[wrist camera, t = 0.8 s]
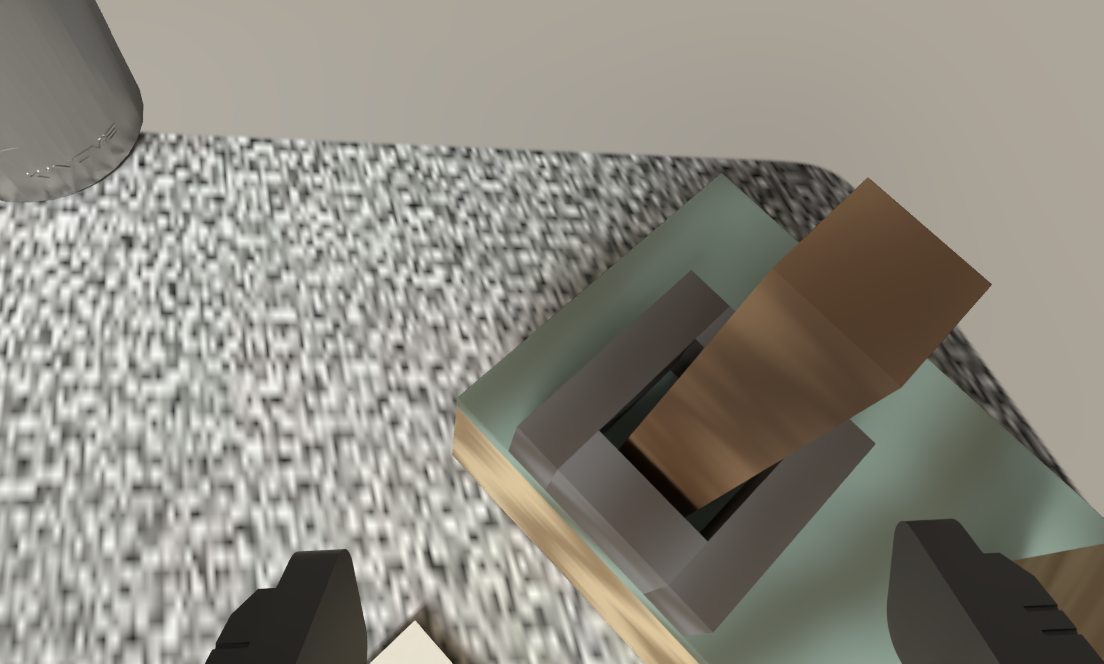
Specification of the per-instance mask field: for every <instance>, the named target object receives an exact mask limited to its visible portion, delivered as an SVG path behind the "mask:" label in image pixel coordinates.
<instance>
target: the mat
mask: <svg viewBox="0 0 1104 664" xmlns="http://www.w3.org/2000/svg"><path fill="white" fill-rule="evenodd" d="M370 664H452V662H451V661H450V660H449V659H448V658H447V657H446V655H445V654H444V653H443V652H442V651H441V650H440V649H439V647H438V646H437V645H436V644H435V643H434V642H433V640H432V639H431V638H430V637H429V636H428V635H427V634H426V632H425V631H424V630H423V629H422V628H421V627H420V625H419V624H418V623H417V622H416V621H414V622H413V623H412V624H411V625H410V626H409V627H407V628H406V629H405V630H404V631H403V632H402V633H401V634H400V635H399V636H398V637H397V638H396V639H395V640H394V641H393V642H392V643H391V644H390V645H389V646H388V647H387V648H386V649H384V650H383V651H382V652H381V653H380V654H379V655H378V656H377V657H376V658H375V659H374V660H373V661H372V662H371V663H370Z"/></svg>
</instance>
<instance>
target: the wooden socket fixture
mask: <svg viewBox="0 0 1104 664" xmlns="http://www.w3.org/2000/svg"><path fill="white" fill-rule="evenodd" d="M798 243H799V242H798V241H796V240H795V239H794V238H793V237H792V236H791V235H790V234H789V233H788V232H786V231H785V230H784V229H783V228H782V227H781V226H780V225H779V224H778V223H776V222H775V221H774V220H773V219H772V218H771V217H770V216H769V215H768V214H767V213H765V212H764V211H763V210H762V209H761V208H760V207H759V206H758V205H757V204H755V203H754V202H753V201H752V200H751V199H750V198H749V197H748V196H747V195H745V194H744V193H743V192H742V191H741V190H740V189H739V188H738V187H737V186H735V185H734V184H733V183H732V182H731V181H730V180H729V179H728V178H727V177H726V176H724V175H723V174H722V173H721V174H720V175H718V176H717V177H716V178H715V179H714V180H713V181H711V182H710V183H709V184H708V185H707V186H706V187H704V188H703V189H702V190H701V191H700V192H698V193H697V194H696V195H695V196H694V197H693V198H691V199H690V200H689V201H688V202H687V203H686V204H684V205H683V206H682V207H681V208H680V209H678V210H677V211H676V212H675V213H674V214H673V215H671V216H670V217H669V218H668V219H667V220H666V221H664V222H663V223H662V224H661V225H660V226H659V227H657V228H656V229H655V230H654V231H653V232H651V233H650V234H649V235H648V236H647V237H646V238H644V239H643V240H642V241H641V242H640V243H639V244H637V245H636V246H635V247H634V248H633V249H631V250H630V251H629V252H628V253H627V254H626V255H624V256H623V257H622V258H621V259H620V260H619V261H617V262H616V263H615V264H614V265H613V266H612V267H610V268H609V269H608V270H607V271H606V272H604V273H603V274H602V275H601V276H600V277H599V278H597V279H596V280H595V281H594V282H593V283H592V284H590V285H589V286H588V287H587V288H586V289H584V290H583V291H582V292H581V293H580V294H579V295H577V296H576V297H575V298H574V299H573V300H572V301H570V302H569V303H568V304H567V305H566V306H564V307H563V308H562V309H561V310H560V311H559V312H557V313H556V314H555V315H554V316H553V317H552V318H550V319H549V320H548V321H547V322H546V323H545V324H543V325H542V326H541V327H540V328H539V329H537V330H536V331H535V332H534V333H533V334H532V335H530V336H529V337H528V338H527V339H526V340H525V341H523V342H522V343H521V344H520V345H519V346H517V347H516V348H515V349H514V350H513V351H512V352H510V353H509V354H508V355H507V356H506V357H505V358H503V359H502V360H501V361H500V362H499V363H498V364H496V365H495V366H494V367H493V368H492V369H490V370H489V371H488V372H487V373H486V374H485V375H483V376H482V377H481V378H480V379H479V380H478V381H476V382H475V383H474V384H473V385H472V386H470V387H469V388H468V389H467V390H466V391H465V392H463V393H462V394H461V395H460V396H459V397H458V399H457V409H456V420H455V431H454V442H453V453H452V455H453V456H454V457H455V458H456V459H457V460H458V461H459V462H460V464H461V465H462V466H463V467H464V468H465V469H466V470H467V471H468V472H469V473H470V474H471V475H472V477H473V478H474V479H475V480H476V481H477V482H478V483H479V484H480V485H481V486H482V487H483V488H484V490H485V491H486V492H487V493H488V494H489V495H490V496H491V497H492V498H493V499H494V500H495V501H496V503H497V504H498V505H499V506H500V507H501V508H502V509H503V510H504V511H505V512H506V513H507V514H508V515H509V517H510V518H511V519H512V520H513V521H514V522H515V523H516V524H517V525H518V526H519V527H520V528H521V530H522V531H523V532H524V533H525V534H526V535H527V536H528V537H529V538H530V539H531V540H532V541H533V543H534V544H535V545H536V546H537V547H538V548H539V549H540V550H541V551H542V552H543V553H544V554H545V555H546V557H547V558H548V559H549V560H550V561H551V562H552V563H553V564H554V565H555V566H556V567H557V568H558V570H559V571H560V572H561V573H562V574H563V575H564V576H565V577H566V578H567V579H568V580H569V581H570V583H571V584H572V585H573V586H574V587H575V588H576V589H577V590H578V591H579V592H580V593H581V594H582V596H583V597H584V598H585V599H586V600H587V601H588V602H589V603H590V604H591V605H592V606H593V607H594V608H595V610H596V611H597V612H598V613H599V614H600V615H601V616H602V617H603V618H604V619H605V620H606V621H607V623H608V624H609V625H610V626H611V627H612V628H613V629H614V630H615V631H616V632H617V633H618V634H619V636H620V637H621V638H622V639H623V640H624V641H625V642H626V643H627V644H628V645H629V646H630V647H631V649H632V650H633V651H634V652H635V653H636V654H637V655H638V656H639V657H640V658H641V659H642V660H643V661H644V663H645V664H902V663H901V661H900V659H899V657H898V655H897V653H896V651H895V649H894V646H893V644H892V641H891V637H890V633H889V628H888V622H887V597H888V587H889V578H890V568H891V559H892V549H893V540H894V532H895V528H896V526H897V524H898V523H899V522H901V521H914V520H933V519H956V520H957V521H959V522H960V523H961V525H962V526H963V527H964V528H965V530H966V531H967V532H968V534H969V535H970V536H971V538H972V539H973V540H974V542H975V543H976V544H977V546H978V547H979V548H980V550H981V551H982V552H983V553H1001V554H1003V555H1004V556H1006V557H1007V558H1008V559H1010V560H1011V561H1013V562H1014V563H1016V564H1017V565H1019V566H1020V567H1022V568H1023V569H1025V570H1026V571H1028V572H1029V573H1031V574H1032V575H1034V576H1035V577H1036V579H1037V580H1038V581H1039V582H1040V584H1041V585H1042V586H1043V587H1044V588H1045V590H1046V591H1047V592H1048V593H1049V595H1050V596H1051V597H1052V598H1053V599H1054V601H1055V602H1056V603H1057V604H1058V609H1059V610H1062V611H1063V612H1064V613H1065V614H1066V615H1067V617H1068V618H1069V619H1070V620H1071V622H1072V623H1073V624H1074V625H1075V627H1076V628H1077V633H1078V634H1082V635H1083V636H1084V638H1085V639H1086V640H1087V641H1088V643H1089V644H1090V645H1091V646H1092V647H1093V649H1094V650H1095V651H1096V652H1097V654H1098V655H1099V656H1100V657H1101V659H1102V660H1103V661H1104V518H1103V517H1102V516H1101V515H1100V514H1099V513H1098V512H1097V511H1096V510H1095V509H1093V508H1092V507H1091V506H1090V505H1089V504H1088V503H1087V502H1086V501H1085V500H1083V499H1082V498H1081V497H1080V496H1079V495H1078V494H1077V493H1076V492H1075V491H1074V490H1072V489H1071V488H1070V487H1069V486H1068V485H1067V484H1066V483H1065V482H1064V481H1062V480H1061V479H1060V478H1059V477H1058V476H1057V475H1056V474H1055V473H1054V472H1052V471H1051V470H1050V469H1049V468H1048V467H1047V466H1046V465H1045V464H1044V463H1042V462H1041V461H1040V460H1039V459H1038V458H1037V457H1036V456H1035V455H1034V454H1033V453H1031V452H1030V451H1029V450H1028V449H1027V448H1026V447H1025V446H1024V445H1023V444H1021V443H1020V442H1019V441H1018V440H1017V439H1016V438H1015V437H1014V436H1013V435H1011V434H1010V433H1009V432H1008V431H1007V430H1006V429H1005V428H1004V427H1003V426H1001V425H1000V424H999V423H998V422H997V421H996V420H995V419H994V418H993V417H992V416H990V415H989V414H988V413H987V412H986V411H985V410H984V409H983V408H982V407H980V406H979V405H978V404H977V403H976V402H975V401H974V400H973V399H972V398H970V397H969V396H968V395H967V394H966V393H965V392H964V391H963V390H962V389H960V388H959V387H958V386H957V385H956V384H955V383H954V382H953V381H952V380H950V379H949V378H948V377H947V376H946V375H945V374H944V373H943V372H942V371H941V370H939V369H938V368H937V367H936V366H935V365H934V364H933V363H932V362H931V361H929V360H928V359H926V360H925V362H924V363H923V364H922V365H921V366H920V367H919V368H918V370H917V371H916V372H915V373H914V374H913V375H912V376H911V377H910V379H909V380H908V381H907V382H906V383H905V384H904V385H903V387H902V388H900V389H898V390H897V391H895V392H893V393H892V394H890V395H888V396H887V397H885V398H883V399H882V400H880V401H878V402H877V403H875V404H873V405H872V406H870V407H868V408H867V409H865V410H863V411H862V412H860V413H858V414H857V415H855V416H853V417H852V418H850V419H848V420H847V421H845V422H843V423H842V424H840V425H838V426H837V427H835V428H833V429H832V430H830V431H828V432H827V433H825V434H823V435H822V436H820V437H818V438H817V439H815V440H813V441H812V442H810V443H808V444H807V445H805V446H803V447H802V448H800V449H798V450H797V451H795V452H793V453H792V454H790V455H788V456H787V457H785V458H783V459H782V460H780V461H778V462H777V463H775V464H773V465H772V466H770V467H768V468H767V469H765V470H763V471H762V472H760V473H758V474H757V475H755V476H753V477H752V478H750V479H748V480H747V481H745V482H743V483H742V484H740V485H738V486H737V487H735V488H733V489H732V490H730V491H728V492H727V493H725V494H723V495H722V496H720V497H718V498H717V499H715V500H713V501H712V502H710V503H708V504H707V505H705V506H703V507H702V508H700V509H698V510H697V511H695V512H693V513H692V514H690V515H688V516H687V517H685V518H684V517H683V516H682V515H681V514H680V513H679V512H678V511H677V510H676V509H675V508H674V507H673V506H672V505H671V504H670V503H669V502H668V501H667V500H666V499H665V498H664V497H663V495H662V494H661V493H660V492H659V491H658V490H657V489H656V488H655V487H654V486H653V485H652V484H651V483H650V482H649V481H648V480H647V479H646V478H645V477H644V476H643V475H642V474H641V473H640V472H639V471H638V470H637V469H636V468H635V467H634V466H633V465H632V464H631V463H630V462H629V461H628V460H627V459H626V458H625V457H624V456H623V455H622V454H621V453H620V452H619V451H618V450H619V448H620V447H621V446H622V445H623V444H624V443H625V441H626V440H627V439H628V438H629V437H630V435H631V434H632V433H633V432H634V431H635V430H636V428H637V427H638V426H639V425H640V424H641V423H642V421H643V420H644V419H645V418H646V417H647V415H648V414H649V413H650V412H651V411H652V410H653V408H654V407H655V406H656V405H657V404H658V402H659V401H660V400H661V399H662V398H663V397H664V395H665V394H666V393H667V392H668V391H669V389H670V388H671V387H672V386H673V385H674V384H675V382H676V381H677V380H678V379H679V378H680V376H681V375H682V374H683V373H684V372H685V371H686V369H687V368H688V367H689V366H690V365H691V364H692V362H693V361H694V360H695V359H696V358H697V356H698V355H699V354H700V353H701V352H702V351H703V349H704V348H705V347H706V346H707V345H708V343H709V342H710V341H711V340H712V339H713V338H714V336H715V335H716V334H717V333H718V332H719V330H720V329H721V328H722V327H723V326H724V325H725V323H726V322H727V321H728V320H729V319H730V317H731V316H732V315H733V314H734V313H735V312H736V310H737V309H738V308H739V307H740V306H741V304H742V303H743V302H744V301H745V300H746V299H747V297H748V296H749V295H750V294H751V293H752V292H753V290H754V289H755V288H756V287H757V286H758V284H759V283H760V282H761V281H762V280H763V279H764V277H765V276H766V275H767V274H768V273H769V271H770V270H771V269H772V268H773V267H774V266H775V265H776V264H777V263H778V262H779V261H780V260H781V259H782V258H784V257H785V256H786V255H787V254H788V253H789V252H790V251H791V250H792V249H793V248H794V247H795V246H796V245H797V244H798Z"/></svg>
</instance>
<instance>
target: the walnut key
mask: <svg viewBox="0 0 1104 664" xmlns="http://www.w3.org/2000/svg"><path fill="white" fill-rule="evenodd" d="M991 285H992V284H991V283H990V282H989V281H987V280H986V279H985V278H984V277H983V276H982V275H980V274H979V273H978V272H977V271H976V270H975V269H974V268H972V267H971V266H970V265H969V264H968V263H967V262H965V261H964V260H963V259H962V258H961V257H960V256H958V255H957V254H956V253H955V252H954V251H953V250H952V249H950V248H949V247H948V246H947V245H946V244H945V243H943V242H942V241H941V240H940V239H939V238H938V237H937V236H935V235H934V234H933V233H932V232H931V231H929V230H928V229H927V228H926V227H925V226H923V224H921V223H920V222H919V221H918V220H917V219H916V218H915V217H913V216H912V215H911V214H910V213H909V212H908V211H906V210H905V209H904V208H903V207H902V206H900V205H899V204H898V203H897V202H896V201H895V200H894V199H892V198H891V197H890V196H889V195H888V194H887V193H886V192H884V191H883V190H882V189H881V188H880V187H879V186H877V185H876V184H875V183H874V182H873V181H872V180H870V179H869V178H867V179H866V180H865V181H864V182H863V183H862V184H861V185H859V186H858V187H857V188H856V189H855V190H854V191H853V192H852V193H851V194H850V195H849V196H848V197H847V198H846V199H845V200H844V201H842V202H841V203H840V204H839V205H838V206H837V207H836V208H835V209H834V210H833V211H832V212H831V213H830V214H829V215H828V216H827V217H826V218H825V219H824V220H822V221H821V222H820V223H819V224H818V225H817V226H816V227H815V228H814V229H813V230H812V231H811V232H810V233H809V234H808V235H807V236H806V237H805V238H804V239H802V240H801V241H800V242H799V243H798V244H797V245H796V246H795V247H794V248H793V249H792V250H791V251H790V252H789V253H788V254H787V255H786V256H785V257H784V258H782V259H781V260H780V261H779V262H778V263H777V264H776V265H775V266H774V267H773V268H772V269H771V270H770V271H769V273H768V274H767V275H766V276H765V277H764V279H763V280H762V281H761V282H760V283H759V284H758V286H757V287H756V288H755V289H754V290H753V292H752V293H751V294H750V295H749V296H748V297H747V299H746V300H745V301H744V302H743V303H742V304H741V306H740V307H739V308H738V309H737V310H736V312H735V313H734V314H733V315H732V316H731V317H730V319H729V320H728V321H727V322H726V323H725V325H724V326H723V327H722V328H721V329H720V330H719V332H718V333H717V334H716V335H715V336H714V338H713V339H712V340H711V341H710V342H709V343H708V345H707V346H706V347H705V348H704V349H703V351H702V352H701V353H700V354H699V355H698V356H697V358H696V359H695V360H694V361H693V362H692V364H691V365H690V366H689V367H688V368H687V369H686V371H685V372H684V373H683V374H682V375H681V376H680V378H679V379H678V380H677V381H676V382H675V384H674V385H673V386H672V387H671V388H670V389H669V391H668V392H667V393H666V394H665V395H664V397H663V398H662V399H661V400H660V401H659V402H658V404H657V405H656V406H655V407H654V408H653V410H652V411H651V412H650V413H649V414H648V415H647V417H646V418H645V419H644V420H643V421H642V423H641V424H640V425H639V426H638V427H637V428H636V430H635V431H634V432H633V433H632V434H631V435H630V437H629V438H628V439H627V440H626V441H625V443H624V444H623V445H622V446H621V447H620V448H619V450H618V451H619V452H620V453H621V454H622V455H623V456H624V457H625V458H626V459H627V460H628V461H629V462H630V463H631V464H632V465H633V466H634V467H635V468H636V469H637V470H638V471H639V472H640V473H641V474H642V475H643V476H644V477H645V478H646V479H647V480H648V481H649V482H650V483H651V484H652V485H653V486H654V487H655V488H656V489H657V490H658V491H659V492H660V493H661V494H662V495H663V497H664V498H665V499H666V500H667V501H668V502H669V503H670V504H671V505H672V506H673V507H674V508H675V509H676V510H677V511H678V512H679V513H680V514H681V515H682V516H683V517H684V518H685V517H687V516H688V515H690V514H692V513H693V512H695V511H697V510H698V509H700V508H702V507H703V506H705V505H707V504H708V503H710V502H712V501H713V500H715V499H717V498H718V497H720V496H722V495H723V494H725V493H727V492H728V491H730V490H732V489H733V488H735V487H737V486H738V485H740V484H742V483H743V482H745V481H747V480H748V479H750V478H752V477H753V476H755V475H757V474H758V473H760V472H762V471H763V470H765V469H767V468H768V467H770V466H772V465H773V464H775V463H777V462H778V461H780V460H782V459H783V458H785V457H787V456H788V455H790V454H792V453H793V452H795V451H797V450H798V449H800V448H802V447H803V446H805V445H807V444H808V443H810V442H812V441H813V440H815V439H817V438H818V437H820V436H822V435H823V434H825V433H827V432H828V431H830V430H832V429H833V428H835V427H837V426H838V425H840V424H842V423H843V422H845V421H847V420H848V419H850V418H852V417H853V416H855V415H857V414H858V413H860V412H862V411H863V410H865V409H867V408H868V407H870V406H872V405H873V404H875V403H877V402H878V401H880V400H882V399H883V398H885V397H887V396H888V395H890V394H892V393H893V392H895V391H897V390H898V389H900V388H902V387H903V385H904V384H905V383H906V382H907V381H908V380H909V379H910V377H911V376H912V375H913V374H914V373H915V372H916V371H917V370H918V368H919V367H920V366H921V365H922V364H923V363H924V362H925V360H926V359H927V358H928V357H929V356H930V355H931V354H932V352H933V351H934V350H935V349H936V348H937V347H938V346H939V344H940V343H941V342H942V341H943V340H944V339H945V338H946V336H947V335H948V334H949V333H950V332H951V331H952V330H953V328H954V327H955V326H956V325H957V324H958V323H959V321H960V320H961V319H962V318H963V317H964V316H965V315H966V314H967V312H968V311H969V310H970V309H971V308H972V307H973V306H974V305H975V303H976V302H977V301H978V300H979V299H980V297H982V295H983V294H984V293H985V292H986V291H987V290H988V289H989V287H990V286H991Z"/></svg>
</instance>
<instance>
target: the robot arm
mask: <svg viewBox="0 0 1104 664" xmlns="http://www.w3.org/2000/svg"><path fill="white" fill-rule="evenodd" d="M142 123H143V102H142V98H141V94H140V90H139V88H138V85H137V84H136V81H135V79H134V77H133V75H132V74H131V72H130V69H129V67H128V66H127V64H126V62H125V60H124V58H123V56H122V54H121V52H120V50H119V48H118V46H117V44H116V42H115V40H114V38H113V36H112V34H111V31H110V29H109V27H108V25H107V23H106V21H105V19H104V17H103V15H102V13H101V11H100V9H99V7H98V5H97V3H96V1H95V0H0V200H1V201H6V202H37V201H44V200H52V199H56V198H59V197H63V196H66V195H69V194H73V193H76V192H78V191H80V190H82V189H84V188H86V187H88V186H90V185H92V184H94V183H96V182H98V181H99V180H101V179H102V178H103V177H105V176H106V175H107V174H109V173H110V172H112V171H113V170H114V169H115V168H116V167H117V166H118V165H119V164H120V163H121V162H122V161H123V160H124V158H125V157H126V156H127V155H128V154H129V152H130V150H131V149H132V147H133V145H134V144H135V142H136V140H137V139H138V136H139V132H140V129H141V126H142ZM887 622H888V628H889V633H890V637H891V641H892V644H893V646H894V649H895V651H896V653H897V655H898V657H899V659H900V661H901V663H902V664H1104V661H1103V660H1102V659H1101V657H1100V656H1099V655H1098V654H1097V652H1096V651H1095V650H1094V649H1093V647H1092V646H1091V645H1090V644H1089V643H1088V641H1087V640H1086V639H1085V638H1084V636H1083V635H1082V634H1078V633H1077V628H1076V627H1075V625H1074V624H1073V623H1072V622H1071V620H1070V619H1069V618H1068V617H1067V615H1066V614H1065V613H1064V612H1063V611H1062V610H1059V609H1058V604H1057V603H1056V602H1055V601H1054V599H1053V598H1052V597H1051V596H1050V595H1049V593H1048V592H1047V591H1046V590H1045V588H1044V587H1043V586H1042V585H1041V584H1040V582H1039V581H1038V580H1037V579H1036V577H1035V576H1034V575H1032V574H1031V573H1029V572H1028V571H1026V570H1025V569H1023V568H1022V567H1020V566H1019V565H1017V564H1016V563H1014V562H1013V561H1011V560H1010V559H1008V558H1007V557H1006V556H1004V555H1003V554H1001V553H983V552H982V551H981V550H980V548H979V547H978V546H977V544H976V543H975V542H974V540H973V539H972V538H971V536H970V535H969V534H968V532H967V531H966V530H965V528H964V527H963V526H962V525H961V523H960V522H959V521H957V520H956V519H933V520H914V521H901V522H899V523H898V524H897V526H896V528H895V532H894V540H893V549H892V559H891V568H890V578H889V587H888V597H887ZM366 661H367V632H366V626H365V621H364V616H363V611H362V606H361V601H360V597H359V592H358V587H357V582H356V577H355V572H354V567H353V562H352V558H351V555H350V553H349V552H348V550H346V549H339V550H320V551H301V552H295V553H294V554H293V555H292V557H291V559H290V560H289V563H288V565H287V567H286V569H285V571H284V573H283V575H282V577H281V579H280V581H279V583H278V585H277V587H276V588H267V589H258V590H257V591H256V592H255V593H253V594H252V595H251V596H250V597H249V598H248V599H247V600H246V601H245V602H244V603H243V604H242V605H241V606H240V607H239V608H238V609H237V610H235V611H234V612H233V613H232V614H231V616H230V617H229V619H228V621H227V623H226V625H225V627H224V629H223V631H222V632H221V634H220V636H219V638H218V640H217V642H216V648H215V649H213V650H212V651H211V653H210V655H209V657H208V659H207V661H206V663H205V664H366Z"/></svg>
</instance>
